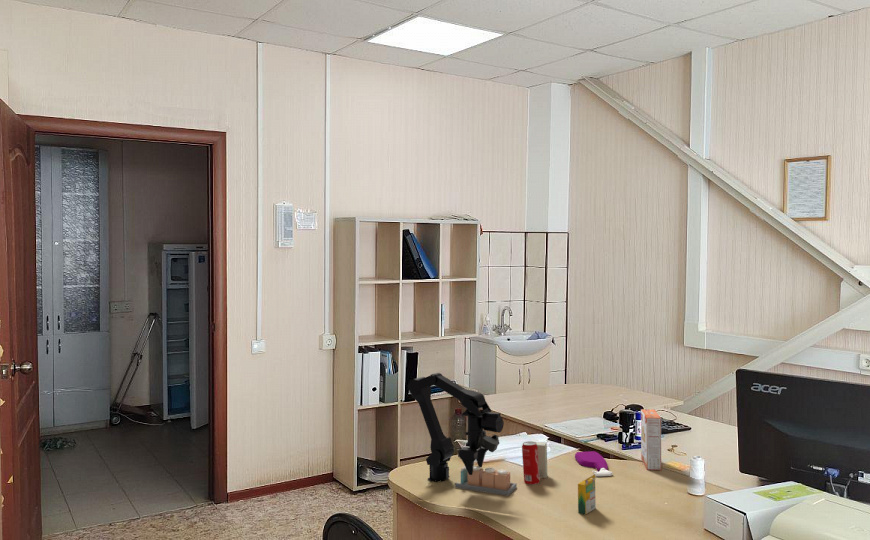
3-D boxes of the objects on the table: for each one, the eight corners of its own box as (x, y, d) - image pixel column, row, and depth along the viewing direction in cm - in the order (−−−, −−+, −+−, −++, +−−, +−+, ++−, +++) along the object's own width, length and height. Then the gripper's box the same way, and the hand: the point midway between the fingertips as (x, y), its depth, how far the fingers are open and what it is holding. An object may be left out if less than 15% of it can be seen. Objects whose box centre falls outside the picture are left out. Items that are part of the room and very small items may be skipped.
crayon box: (587, 506, 234) (587, 472, 233) (596, 508, 232) (595, 474, 231) (577, 512, 228) (577, 477, 228) (585, 515, 226) (585, 479, 226)
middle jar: (482, 489, 250) (482, 470, 249) (486, 485, 254) (486, 466, 253) (493, 490, 248) (493, 472, 247) (498, 487, 252) (497, 468, 251)
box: (547, 475, 265) (547, 442, 265) (545, 479, 261) (545, 445, 260) (534, 474, 267) (534, 441, 266) (531, 478, 263) (531, 444, 262)
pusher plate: (460, 484, 252) (460, 468, 252) (467, 479, 258) (467, 463, 258) (463, 485, 252) (463, 469, 251) (470, 479, 257) (469, 464, 257)
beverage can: (539, 486, 253) (539, 445, 253) (521, 485, 255) (521, 444, 254) (540, 480, 259) (540, 441, 259) (522, 479, 261) (522, 440, 260)
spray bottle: (598, 457, 288) (619, 478, 264) (572, 458, 287) (591, 479, 263) (598, 450, 288) (619, 470, 264) (572, 451, 287) (591, 471, 263)
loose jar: (478, 488, 250) (478, 470, 250) (467, 486, 252) (467, 468, 252) (483, 484, 254) (483, 466, 254) (472, 483, 256) (472, 464, 256)
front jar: (494, 491, 248) (494, 472, 247) (498, 487, 251) (498, 468, 251) (506, 492, 246) (506, 473, 245) (510, 488, 250) (510, 470, 249)
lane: (455, 488, 252) (455, 483, 252) (464, 481, 260) (464, 475, 260) (508, 496, 243) (508, 491, 243) (516, 488, 251) (516, 483, 251)
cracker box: (640, 459, 284) (640, 408, 284) (655, 459, 284) (655, 409, 283) (645, 470, 271) (645, 417, 270) (661, 470, 270) (661, 417, 269)
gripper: (486, 437, 240) (487, 482, 241) (505, 424, 257) (505, 466, 258) (457, 434, 245) (457, 477, 246) (477, 421, 262) (477, 462, 263)
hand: (475, 471), depth 253 cm, fingers open, 9 cm apart
